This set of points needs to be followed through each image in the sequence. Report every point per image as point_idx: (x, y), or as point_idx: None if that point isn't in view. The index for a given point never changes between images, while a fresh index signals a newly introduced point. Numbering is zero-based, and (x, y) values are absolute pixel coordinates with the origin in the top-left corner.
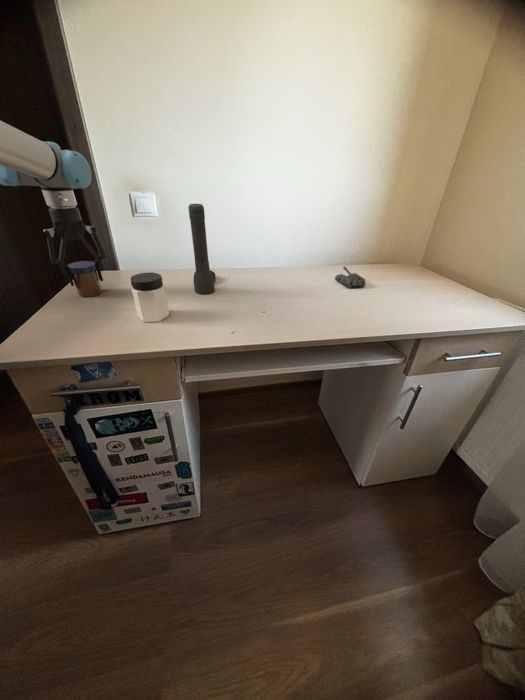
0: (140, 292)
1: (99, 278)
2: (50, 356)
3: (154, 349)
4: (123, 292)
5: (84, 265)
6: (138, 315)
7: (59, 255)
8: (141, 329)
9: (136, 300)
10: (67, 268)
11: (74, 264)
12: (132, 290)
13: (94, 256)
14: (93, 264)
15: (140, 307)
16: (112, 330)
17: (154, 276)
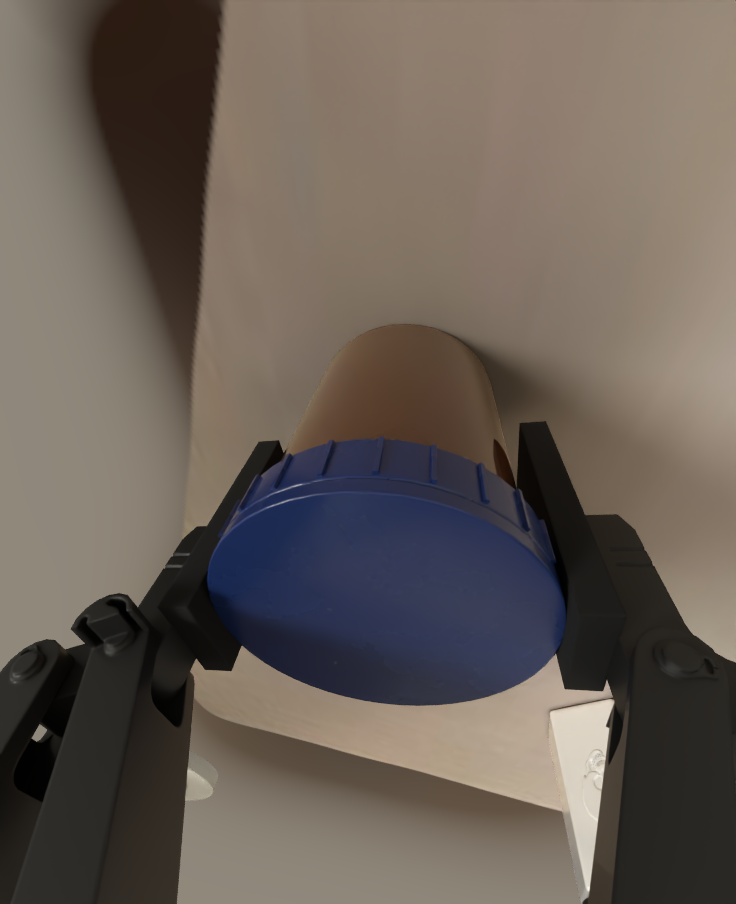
0: None
1: (520, 469)
2: (296, 736)
3: (511, 794)
4: (629, 486)
5: (411, 660)
6: (551, 727)
7: (68, 766)
8: (522, 749)
9: (568, 826)
10: (234, 638)
11: (288, 591)
12: (580, 870)
13: (605, 789)
14: (522, 670)
15: (562, 809)
16: (443, 725)
17: None
